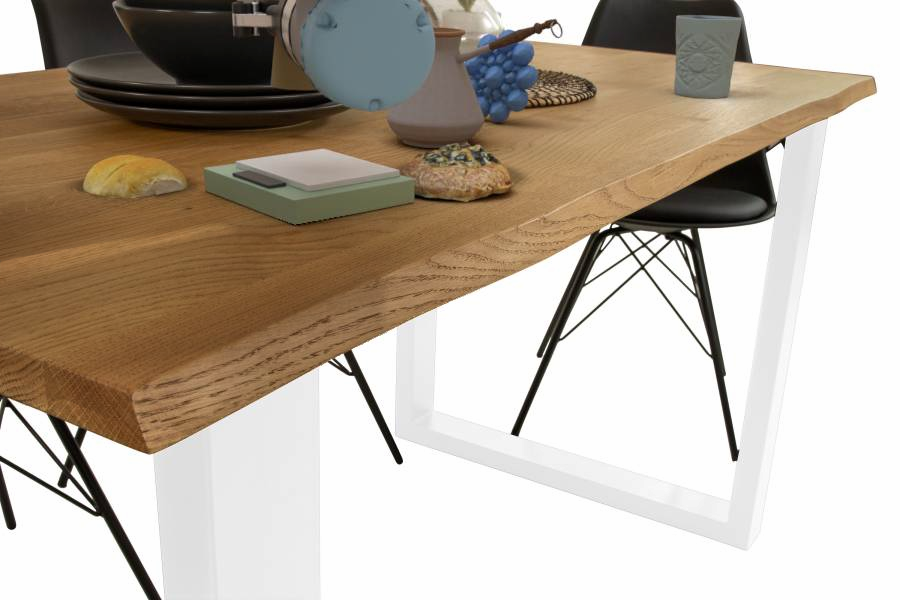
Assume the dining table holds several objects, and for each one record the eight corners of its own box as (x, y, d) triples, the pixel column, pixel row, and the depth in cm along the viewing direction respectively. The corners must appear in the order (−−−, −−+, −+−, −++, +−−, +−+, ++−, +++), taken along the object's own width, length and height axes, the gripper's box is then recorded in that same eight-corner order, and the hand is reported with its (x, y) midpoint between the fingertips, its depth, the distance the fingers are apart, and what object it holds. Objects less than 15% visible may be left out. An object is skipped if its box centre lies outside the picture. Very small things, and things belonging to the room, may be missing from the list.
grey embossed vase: (690, 99, 155) (698, 19, 151) (656, 90, 164) (663, 14, 160) (746, 97, 158) (755, 19, 154) (710, 88, 167) (718, 14, 163)
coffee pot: (366, 143, 117) (366, 9, 112) (422, 129, 126) (424, 5, 121) (527, 168, 106) (534, 22, 101) (575, 151, 115) (585, 16, 110)
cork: (350, 88, 88) (348, -45, 84) (285, 91, 85) (280, -46, 81) (323, 79, 93) (320, -47, 89) (261, 82, 90) (255, -48, 86)
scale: (295, 226, 84) (294, 193, 83) (204, 190, 94) (203, 161, 93) (414, 202, 92) (415, 172, 91) (319, 172, 102) (318, 145, 101)
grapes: (552, 124, 132) (558, 30, 128) (523, 131, 127) (528, 33, 123) (481, 113, 139) (484, 23, 134) (451, 119, 134) (453, 26, 129)
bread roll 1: (143, 184, 96) (140, 142, 95) (201, 201, 91) (199, 157, 89) (64, 199, 90) (59, 155, 89) (121, 218, 85) (117, 171, 83)
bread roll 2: (441, 167, 104) (446, 121, 102) (532, 199, 99) (539, 150, 97) (373, 191, 96) (377, 141, 94) (468, 227, 91) (476, 174, 88)
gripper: (212, 83, 70) (201, 47, 91) (451, 79, 74) (388, 46, 95) (205, -31, 67) (196, -40, 88) (453, -28, 71) (387, -38, 92)
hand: (295, 4), depth 92 cm, fingers closed on cork, 4 cm apart
